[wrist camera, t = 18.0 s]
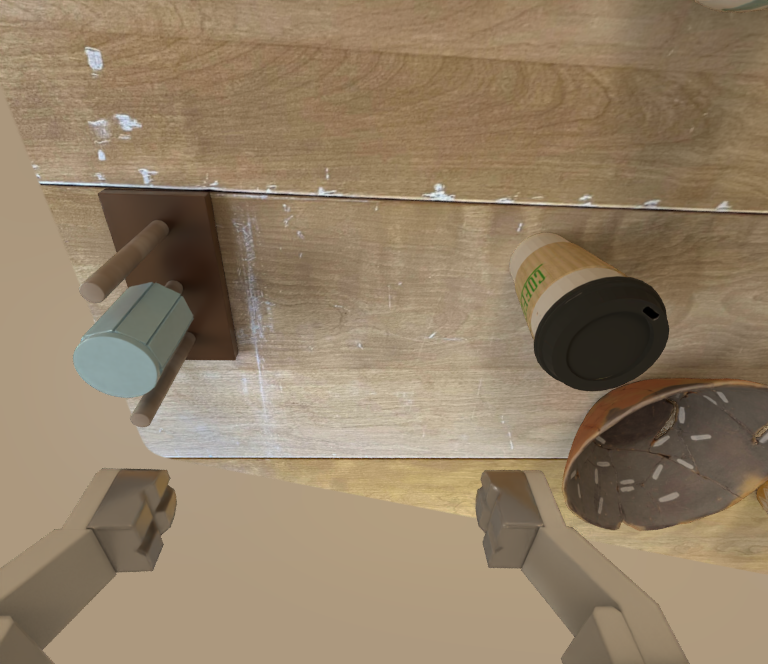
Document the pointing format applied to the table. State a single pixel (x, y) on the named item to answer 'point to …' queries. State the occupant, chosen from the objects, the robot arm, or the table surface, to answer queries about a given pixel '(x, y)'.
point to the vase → (734, 5)
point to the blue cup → (133, 341)
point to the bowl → (668, 452)
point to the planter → (763, 495)
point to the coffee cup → (586, 314)
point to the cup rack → (169, 272)
